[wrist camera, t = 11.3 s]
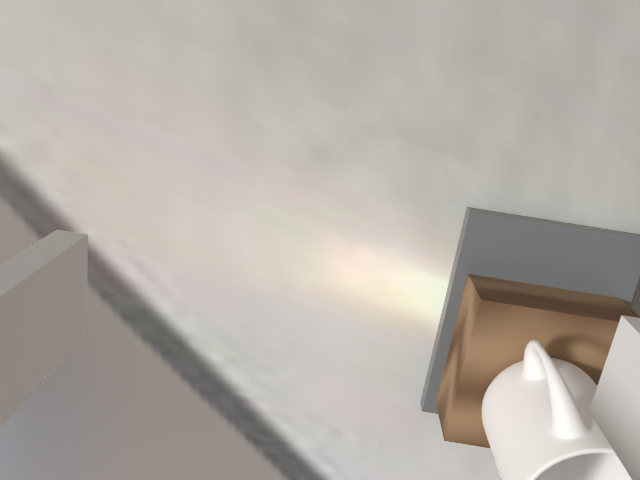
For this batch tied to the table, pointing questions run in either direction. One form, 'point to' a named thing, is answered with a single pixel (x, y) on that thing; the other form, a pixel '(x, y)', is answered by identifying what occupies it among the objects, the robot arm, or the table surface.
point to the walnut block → (517, 342)
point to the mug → (546, 422)
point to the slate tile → (532, 267)
